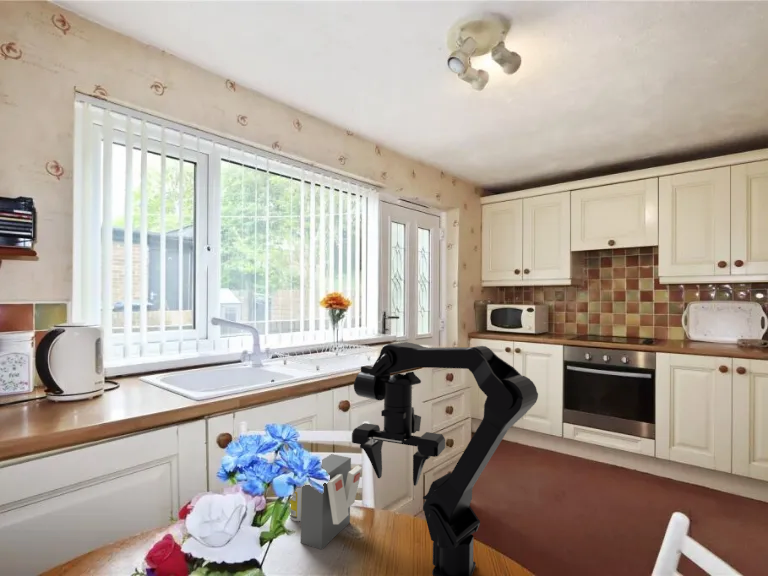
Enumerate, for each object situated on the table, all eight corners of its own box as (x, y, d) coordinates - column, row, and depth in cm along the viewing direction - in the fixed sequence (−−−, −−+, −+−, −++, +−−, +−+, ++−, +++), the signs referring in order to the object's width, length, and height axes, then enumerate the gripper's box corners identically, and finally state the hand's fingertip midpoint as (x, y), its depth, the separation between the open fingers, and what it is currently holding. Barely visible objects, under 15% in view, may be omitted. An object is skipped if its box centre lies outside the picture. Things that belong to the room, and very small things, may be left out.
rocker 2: (355, 503, 89) (363, 468, 89) (345, 511, 85) (354, 475, 85) (349, 500, 90) (357, 465, 89) (340, 508, 86) (348, 472, 86)
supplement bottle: (316, 510, 95) (317, 467, 96) (310, 523, 90) (311, 477, 90) (293, 509, 96) (294, 466, 96) (286, 521, 90) (287, 476, 91)
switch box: (349, 522, 90) (350, 457, 91) (321, 549, 80) (323, 476, 81) (330, 517, 93) (331, 454, 93) (300, 542, 83) (302, 472, 83)
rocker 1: (349, 514, 83) (343, 474, 84) (339, 524, 80) (333, 481, 81) (343, 514, 84) (337, 474, 85) (333, 524, 80) (326, 481, 81)
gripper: (452, 400, 88) (452, 474, 88) (374, 392, 96) (373, 460, 95) (437, 413, 78) (436, 496, 78) (350, 402, 86) (349, 478, 85)
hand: (397, 481), depth 84 cm, fingers open, 8 cm apart
